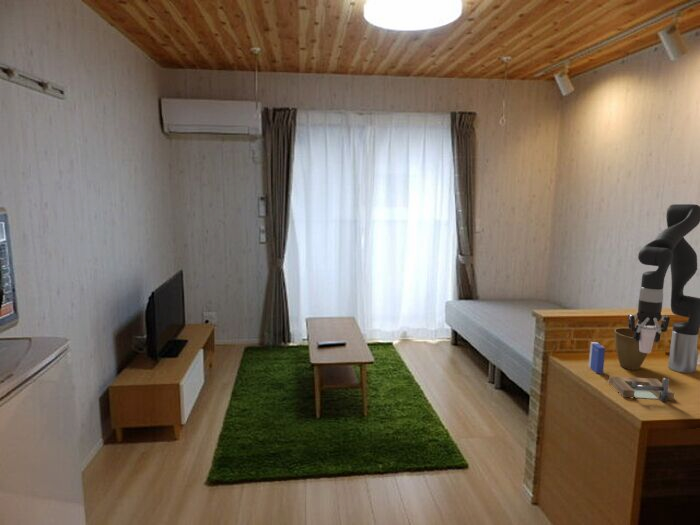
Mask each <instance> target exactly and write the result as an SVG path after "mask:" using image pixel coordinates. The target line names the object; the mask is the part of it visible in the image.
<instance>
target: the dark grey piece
mask: <svg viewBox="0 0 700 525" xmlns="http://www.w3.org/2000/svg"><path fill="white" fill-rule="evenodd" d="M661 381H662V382H661V383H662V386H643V385H637V382H635V381H632V388H633V389H637V390H656V391H661V397H660V400H659V401H660V402H662V403H667V401H668V400H667V393H668V388H669V384H670V379H669V378H667V377H662V380H661Z"/></svg>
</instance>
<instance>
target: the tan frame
mask: <svg viewBox="0 0 700 525" xmlns="http://www.w3.org/2000/svg"><path fill="white" fill-rule="evenodd" d="M632 381H635V382H637V385H643V386H662V382H661V381H660V380H659V379H658V378H650V377H649V378H647V377H646V378H645V377H632V376H631V377H629V376H628V377H627V376H625V377H624V376H612V375H611V376H609V378H608V384H609V383H610V384H609V385H610V386H611V385H612V386H613V387H614V388H615V389H616V390H617V391H618V392H619V393H620V394H621V395H622V396H621V395H620V394H619V393H618V392H617V391H616V390H615V389H614V388H613V387H612V386H611V387H612V388H613V389H614V390H615V391H616V392H617V393H618V394H619V395H620V396H621V397H622V398H624V397H633V398H632V399H635V398H634V392H635V391H634V390H633V389H632ZM649 391H650V392H651V393H653V394H654V395H655V396H656V397H657V398H658V399H657V400H659V401H660V397H661V391H656V390H649ZM674 396H675V392H673V390H672V389H670V387H668V393H667V401H674V400H675V397H674Z"/></svg>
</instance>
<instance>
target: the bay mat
mask: <svg viewBox="0 0 700 525" xmlns="http://www.w3.org/2000/svg"><path fill="white" fill-rule="evenodd" d="M632 389H633V388H632ZM633 390H634V391H635V392H634V397H635V398H634V399H645V398H646V400H647V399H648V400H649V399H650V400H659V399H658V398H657V397H656V396H655V395H654V394H653V393H651V392H650V391H649V390H637V389H633Z"/></svg>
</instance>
